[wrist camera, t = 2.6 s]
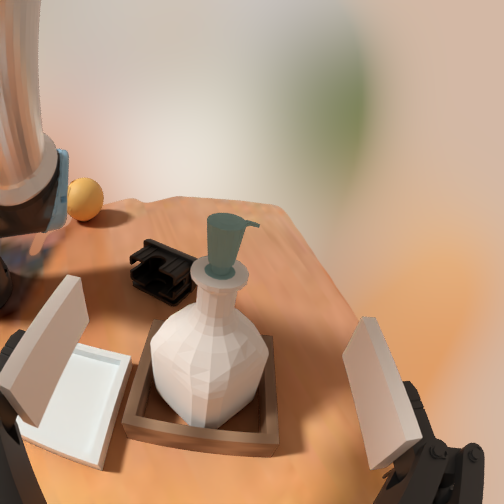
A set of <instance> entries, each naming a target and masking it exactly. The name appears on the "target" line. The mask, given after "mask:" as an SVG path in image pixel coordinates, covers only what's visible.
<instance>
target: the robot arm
mask: <svg viewBox="0 0 504 504" xmlns="http://www.w3.org/2000/svg"><path fill="white" fill-rule="evenodd" d="M40 5H41V0H0V238H3V237H10V236H17V235H24V234H31V233H38V232H42V233H46V232H48V231H51V230H56V229H60V228H62V227H63V226H64V225H65V223H66V219H67V195H68V169H69V155H68V152H67V151H66V150H61V149H56V146H55V144H54V142H53V141H52V140H51V138H50V137H49V136H48V135H46V134H45V133H43V129H42V120H41V110H40V98H39V78H38V34H39V17H40ZM12 286H13V284H12V279H11V276H10V272H9V270H8V267H7V266H6V264H5V263H4V261H3V260H2V258H1V257H0V308H1V307H2V306H3V305H4V304H5V303H6V301H7V300H8V298H9V296H10V294H11V291H12ZM88 323H89V317H88V313H87V308H86V303H85V298H84V293H83V288H82V282H81V277H77V276H72V275H67V276H66V277H65V278H64V279H63V281H62V282H61V283H60V285H59V286H58V287H57V288H56V290H55V291H54V292H53V294H52V295H51V297H50V298H49V299H48V301H47V302H46V303H45V305H44V306H43V308H42V309H41V310H40V312H39V313H38V315H37V316H36V317H35V319H34V320H33V322H32V323H31V325H30V326H29V328H28V329H27V331H23V330H20V329H19V330H18V331H17V332H15V333H14V334H13V335H11V336H10V338H9V339H8V341H7V342H6V344H5V347H3V349H2V350H1V353H0V504H47V502H46V500H45V498H44V496H43V494H42V491H41V489H40V487H39V484H38V482H37V479H36V477H35V474H34V472H33V469H32V467H31V464H30V461H29V458H28V455H27V452H26V450H25V446H24V443H23V440H22V437H21V434H20V430H19V427H18V424H17V422H16V418H17V416H18V415H19V417H20V418H21V419H22V421H23V422H25V423H27V424H29V425H31V426H34V427H36V428H38V427H39V425H40V423H41V420H42V418H43V415H44V413H45V411H46V408H47V406H48V404H49V401H50V399H51V397H52V395H53V392H54V390H55V388H56V386H57V384H58V382H59V379H60V377H61V375H62V373H63V371H64V369H65V367H66V365H67V363H68V361H69V359H70V357H71V355H72V353H73V351H74V349H75V347H76V345H77V343H78V341H79V339H80V338H81V336H82V334H83V332H84V330H85V328H86V326H87V325H88ZM342 358H343V361H344V365H345V369H346V372H347V376H348V380H349V384H350V388H351V391H352V395H353V399H354V403H355V407H356V411H357V415H358V419H359V423H360V428H361V432H362V436H363V440H364V445H365V449H366V454H367V458H368V463H369V468H370V470H374V469H380V468H386V467H387V466H388V465H390V464H391V463H392V462H393V463H394V468H393V469H392V470H390V471H389V472H387V473H386V474H385V475H384V476H383V477H382V478H383V479H384V478H386V477H387V476H388V478H387V480H386V482H385V484H384V485H383V487H382V489H381V491H380V492H379V494H378V496H377V498H376V499H375V501H374V503H373V504H482V499H483V486H484V452H483V450H482V448H481V447H480V446H479V445H478V444H476V443H469V444H468V445H466V446H465V447H464V448H462V449H460V448H450V447H447V445H446V444H445V443H444V442H443V441H442V440H439V439H436V438H435V436H434V434H433V431H432V428H431V425H430V423H429V420H428V417H427V414H426V412H425V409H423V407H424V406H423V404H422V402H421V401H420V396H419V394H418V392H417V389H416V388H415V387H414V386H413V384H412V383H411V382H410V381H402V380H401V377H400V374H399V372H398V369H397V367H396V365H395V362H394V359H393V357H392V355H391V352H390V350H389V347H388V345H387V343H386V340H385V338H384V336H383V334H382V331H381V329H380V327H379V324H378V322H377V320H376V318H375V317H361V319H360V321H359V323H358V325H357V327H356V329H355V331H354V333H353V335H352V337H351V339H350V341H349V343H348V345H347V347H346V349H345V350H344V352H343V354H342ZM453 485H454V486H453Z"/></svg>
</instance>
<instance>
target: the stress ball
mask: <svg viewBox="0 0 504 504" xmlns="http://www.w3.org/2000/svg"><path fill="white" fill-rule="evenodd" d="M103 199H104V197H103V192H102V189H101V187H100V185H99V184H98V183H97V182H96V181H94V180H92V179H90V178H80V179H77V180H74V181H72V182H71V183H70V185H69V186H68V195H67V213H68V214H69V215H70V216H71V217H72V218H74V219H76V220H80V221H82V222H84V221H88V220H90V219H91V218H93V217H95V216H96V215H97V214H98V213H99V211H100V210H101V208H102V205H103Z"/></svg>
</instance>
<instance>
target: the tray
mask: <svg viewBox="0 0 504 504" xmlns="http://www.w3.org/2000/svg"><path fill="white" fill-rule="evenodd" d="M132 366H133V365H132V359H131V356H128V355H124V354H119V353H115V352H111V351H107V350H103V349H99V348H95V347H91V346H87V345H84V344H80V343H77V345H76V347H75V349H74V351H73V353H72V355H71V357H70V359H69V361H68V363H67V365H66V367H65V369H64V371H63V373H62V375H61V377H60V379H59V382H58V384H57V386H56V388H55V390H54V392H53V395H52V397H51V399H50V401H49V404H48V406H47V408H46V411H45V413H44V415H43V418H42V420H41V423H40V425H39V427H38V428H36V427H34V426H31V425H29V424H27V423H25V422H23V421H22V419H21V418H20V417H19V415H18V416H17V418H16V422H17V424H18V427H19V430H20V434H21V437H22V439H23V440H25V441H27V442H29V443H31V444H33V445H36V446H38V447H40V448H42V449H45V450H47V451H49V452H52V453H54V454H56V455H59V456H61V457H64V458H66V459H69V460H72V461H74V462H77V463H80V464H83V465H86V466H89V467H92V468H95V469H98V470H101V471H102V470H103V466H104V462H105V458H106V454H107V451H108V447H109V443H110V439H111V436H112V432H113V428H114V425H115V421H116V418H117V415H118V411H119V408H120V404H121V401H122V398H123V395H124V391H125V388H126V385H127V382H128V379H129V376H130V373H131V370H132Z"/></svg>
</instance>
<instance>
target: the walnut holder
mask: <svg viewBox="0 0 504 504" xmlns="http://www.w3.org/2000/svg"><path fill="white" fill-rule="evenodd" d="M164 322H165V321H162V320H157V319H154V320H153V322H152V325H151V328H150V331H149V334H148V337H147V340H146V343H145V346H144V349H143V352H142V355H141V358H140V361H139V365H138V368H137V371H136V374H135V377H134V381H133V384H132V387H131V390H130V394H129V397H128V401H127V404H126V407H125V411H124V415H123V418H122V422H121V423H122V426H123V428H124V431H125V433H126V436H127V438H129V439H133V440H137V441H142V442H146V443H151V444H156V445H161V446H166V447H172V448H178V449H184V450H190V451H197V452H205V453H213V454H223V455H234V456H248V457H271V456H272V454H273V453H274V451H275V450H276V449H277V447H278V446H279V428H278V412H277V396H276V381H275V366H274V351H273V337H272V336H268V335H261V337H262V339H263V340H264V342H265V344H266V346H267V348H268V352H269V355H268V358H267V361H266V364H265V367H264V370H263V373H262V376H261V379H260V382H259V384H258V404H259V433H249V432H236V431H226V430H217V429H209V428H201V427H194V426H187V425H181V424H175V423H169V422H164V421H159V420H154V419H149V418H144V413H145V409H146V405H147V401H148V397H149V393H150V389H151V385H152V381H153V377H154V375H153V366H152V356H151V345H150V342H151V340H152V338H153V336H154V335H155V334H156V333H157V332H158V330H159V329H160V327H161V326H162V325H163V323H164Z"/></svg>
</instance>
